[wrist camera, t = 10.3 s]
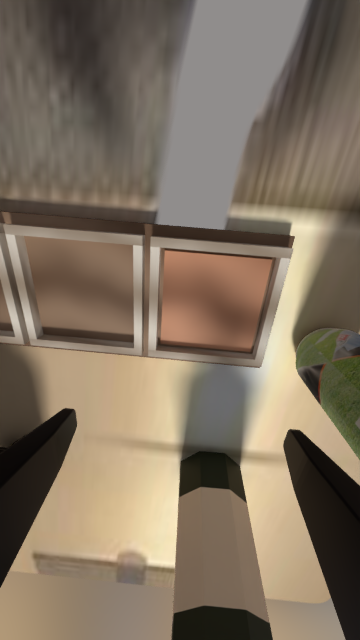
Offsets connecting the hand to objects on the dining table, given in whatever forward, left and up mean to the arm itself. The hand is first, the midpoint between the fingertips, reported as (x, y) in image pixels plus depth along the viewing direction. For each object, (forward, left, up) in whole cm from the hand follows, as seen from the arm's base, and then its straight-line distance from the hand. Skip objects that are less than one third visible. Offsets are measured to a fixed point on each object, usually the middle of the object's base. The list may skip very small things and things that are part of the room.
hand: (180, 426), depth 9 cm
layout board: (+1, +9, -13) cm, 15 cm away
